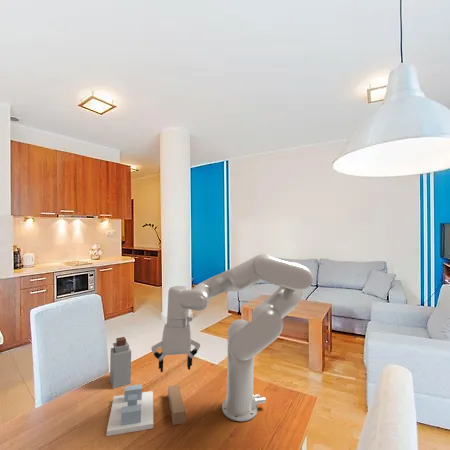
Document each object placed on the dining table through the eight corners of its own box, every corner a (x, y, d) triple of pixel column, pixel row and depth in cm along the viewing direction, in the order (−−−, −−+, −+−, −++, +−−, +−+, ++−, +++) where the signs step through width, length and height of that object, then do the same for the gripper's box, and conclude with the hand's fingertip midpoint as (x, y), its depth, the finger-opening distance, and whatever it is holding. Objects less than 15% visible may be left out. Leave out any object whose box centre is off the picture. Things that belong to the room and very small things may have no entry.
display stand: (152, 394, 105) (153, 380, 105) (153, 428, 88) (153, 411, 88) (113, 400, 102) (114, 385, 102) (106, 436, 84) (107, 418, 84)
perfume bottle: (126, 376, 118) (127, 334, 118) (130, 383, 112) (131, 340, 113) (109, 380, 114) (110, 337, 115) (113, 388, 109) (114, 343, 109)
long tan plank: (178, 394, 106) (178, 384, 106) (185, 423, 91) (185, 411, 91) (168, 396, 105) (168, 386, 105) (173, 425, 90) (173, 413, 90)
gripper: (199, 316, 104) (197, 361, 104) (152, 318, 99) (150, 366, 99) (203, 323, 97) (200, 372, 97) (152, 326, 92) (150, 377, 92)
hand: (175, 369), depth 98 cm, fingers open, 9 cm apart
